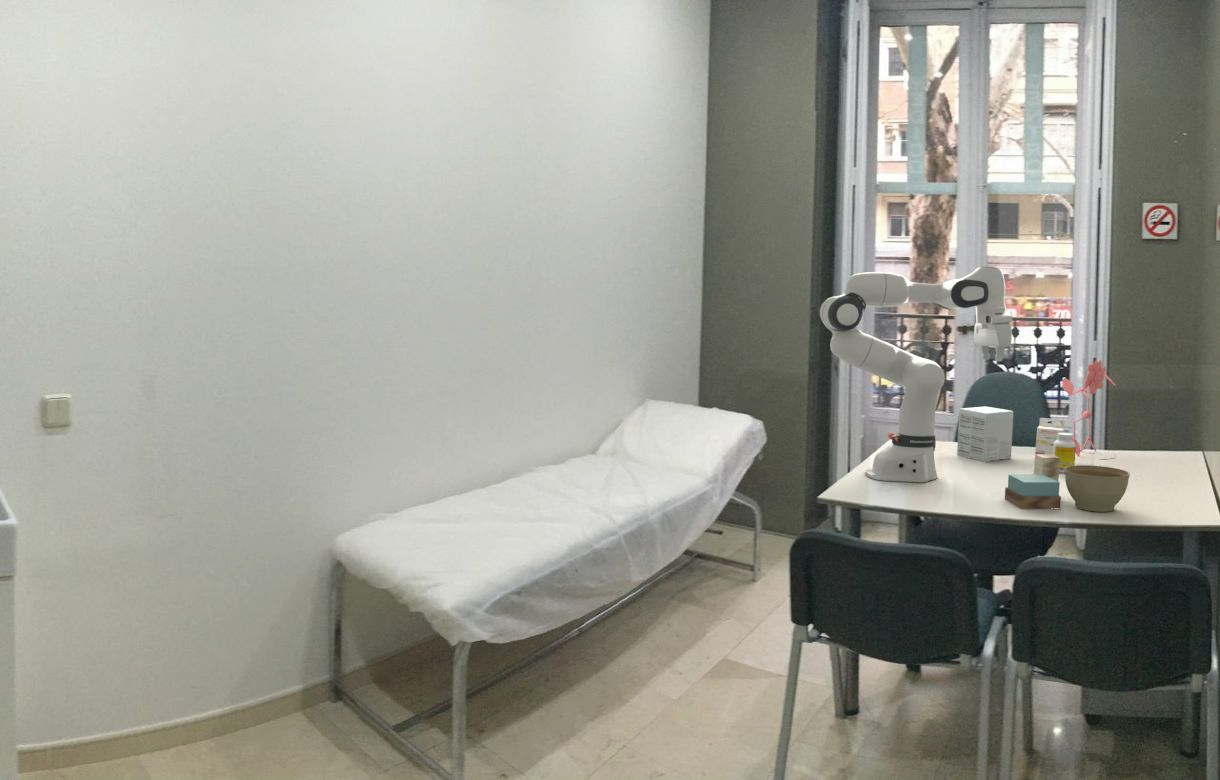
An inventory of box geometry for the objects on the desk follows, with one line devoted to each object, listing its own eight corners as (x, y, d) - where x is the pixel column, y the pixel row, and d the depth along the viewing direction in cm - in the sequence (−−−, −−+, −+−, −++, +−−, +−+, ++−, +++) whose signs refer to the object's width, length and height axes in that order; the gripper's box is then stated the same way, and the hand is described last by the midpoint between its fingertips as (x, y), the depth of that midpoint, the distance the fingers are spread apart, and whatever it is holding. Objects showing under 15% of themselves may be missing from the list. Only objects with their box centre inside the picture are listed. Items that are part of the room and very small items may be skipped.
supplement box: (983, 452, 331) (985, 405, 329) (1011, 458, 319) (1014, 410, 317) (956, 455, 326) (958, 408, 324) (984, 462, 314) (986, 413, 312)
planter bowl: (1099, 500, 260) (1102, 463, 259) (1140, 514, 245) (1143, 475, 243) (1049, 502, 258) (1052, 465, 257) (1087, 517, 242) (1090, 478, 241)
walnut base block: (1020, 510, 251) (1021, 496, 250) (1004, 500, 262) (1005, 487, 261) (1060, 510, 250) (1061, 496, 250) (1042, 500, 261) (1043, 487, 261)
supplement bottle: (1076, 474, 294) (1079, 435, 293) (1055, 473, 296) (1057, 435, 294) (1070, 469, 301) (1073, 432, 299) (1049, 469, 302) (1051, 431, 301)
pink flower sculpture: (1049, 455, 325) (1057, 360, 320) (1091, 448, 338) (1099, 357, 333) (1090, 463, 312) (1099, 364, 307) (1132, 456, 325) (1141, 361, 319)
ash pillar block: (1040, 497, 264) (1042, 457, 262) (1032, 493, 269) (1035, 454, 267) (1057, 497, 264) (1059, 457, 262) (1049, 493, 269) (1052, 454, 267)
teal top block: (1023, 496, 251) (1024, 482, 250) (1007, 487, 261) (1008, 474, 260) (1058, 496, 251) (1059, 482, 250) (1042, 487, 261) (1042, 474, 260)
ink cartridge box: (1034, 459, 317) (1036, 419, 316) (1036, 457, 322) (1038, 417, 320) (1061, 462, 313) (1063, 421, 311) (1062, 460, 317) (1065, 419, 315)
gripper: (968, 317, 295) (969, 359, 296) (994, 318, 275) (995, 362, 276) (987, 316, 295) (988, 358, 296) (1014, 316, 274) (1016, 361, 276)
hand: (992, 360), depth 286 cm, fingers open, 8 cm apart
